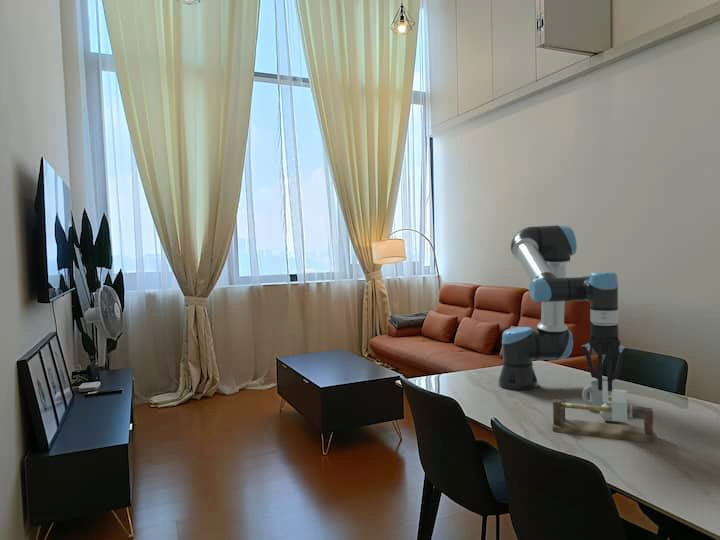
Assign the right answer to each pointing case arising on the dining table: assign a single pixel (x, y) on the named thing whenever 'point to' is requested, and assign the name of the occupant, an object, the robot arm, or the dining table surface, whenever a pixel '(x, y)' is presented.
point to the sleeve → (619, 405)
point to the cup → (594, 394)
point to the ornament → (607, 415)
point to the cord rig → (604, 428)
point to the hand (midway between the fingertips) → (605, 401)
